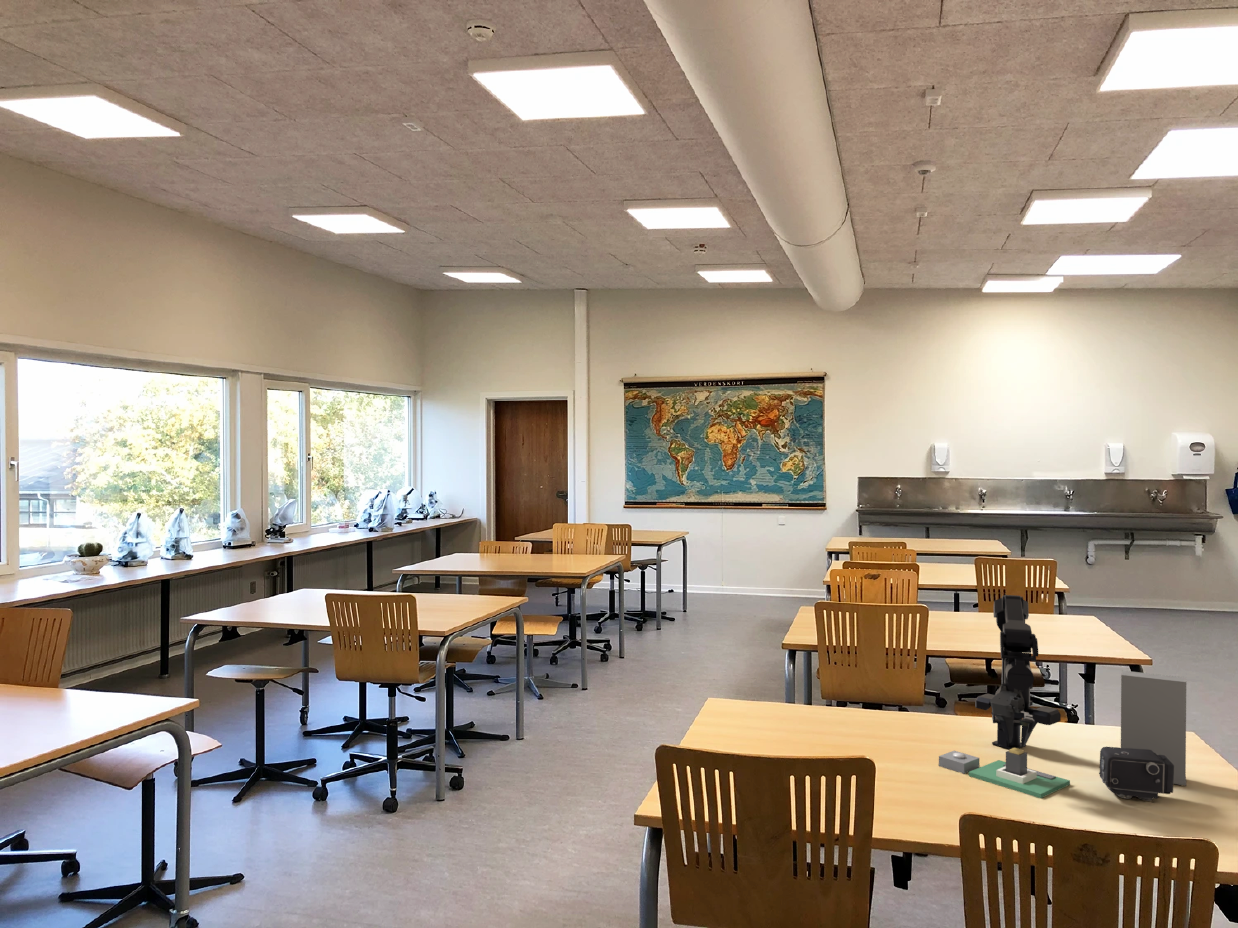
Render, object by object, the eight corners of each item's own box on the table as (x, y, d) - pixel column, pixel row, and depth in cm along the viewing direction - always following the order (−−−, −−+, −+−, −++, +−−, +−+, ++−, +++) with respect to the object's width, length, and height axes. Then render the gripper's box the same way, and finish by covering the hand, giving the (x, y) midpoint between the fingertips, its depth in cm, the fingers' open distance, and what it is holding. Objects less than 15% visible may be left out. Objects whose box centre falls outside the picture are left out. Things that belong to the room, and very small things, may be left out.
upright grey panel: (1185, 778, 217) (1186, 676, 217) (1186, 786, 212) (1187, 682, 212) (1120, 768, 224) (1121, 669, 224) (1119, 775, 219) (1120, 674, 219)
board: (998, 763, 228) (998, 753, 228) (1069, 784, 213) (1069, 774, 213) (968, 775, 219) (968, 765, 219) (1040, 798, 205) (1040, 787, 205)
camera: (1110, 807, 202) (1181, 807, 199) (1105, 759, 202) (1176, 758, 199) (1097, 790, 212) (1166, 790, 209) (1093, 744, 212) (1161, 743, 209)
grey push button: (954, 759, 230) (954, 748, 230) (979, 767, 225) (979, 755, 225) (938, 765, 226) (938, 753, 226) (964, 773, 221) (964, 761, 221)
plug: (1013, 773, 218) (1013, 746, 218) (1027, 777, 215) (1027, 750, 215) (1005, 776, 216) (1005, 749, 216) (1019, 780, 213) (1019, 753, 213)
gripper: (963, 677, 218) (962, 740, 218) (1038, 693, 203) (1037, 761, 203) (987, 670, 225) (987, 732, 225) (1062, 685, 210) (1061, 751, 210)
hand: (1016, 744), depth 216 cm, fingers open, 3 cm apart
